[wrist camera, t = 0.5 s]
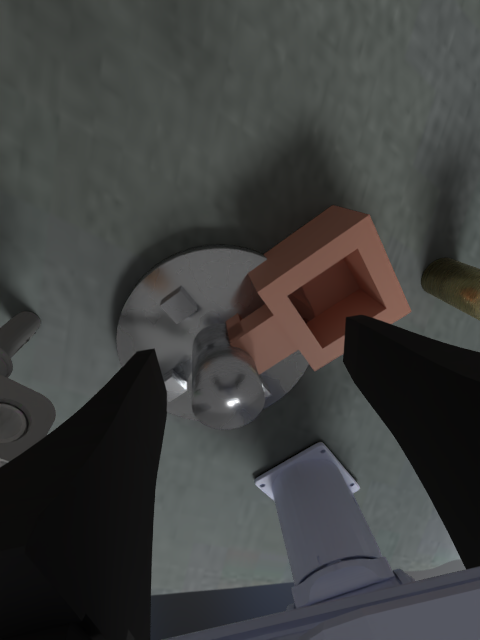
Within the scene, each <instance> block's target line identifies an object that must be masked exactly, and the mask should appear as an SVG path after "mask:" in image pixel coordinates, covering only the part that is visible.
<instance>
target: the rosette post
mask: <svg viewBox="0 0 480 640" xmlns="http://www.w3.org/2000/svg"><path fill="white" fill-rule="evenodd" d="M266 260H267V258H266V257H265V256H264V254H262V253H259V252H257V251H254V250H251V249H248V248H243V247H239V246H232V245H206V246H200V247H195V248H191V249H188V250H185V251H182V252H179V253H177V254H175V255H172V256H170V257H168V258H166V259H165V260H163V261H162V262H160V263H159V264H157V265H156V266H154V267H153V268H152V269H151V270H150V271H148V272H147V273H146V274H145V275H144V276H143V277H142V279H141V280H140V281H139V282H138V283H137V284H136V286H135V287H134V289H133V291H132V292H131V294H130V295H129V297H128V299H127V301H126V303H125V305H124V308H123V310H122V312H121V315H120V319H119V323H118V327H117V337H116V341H117V352H118V356H119V360H120V364H121V366H122V367H123V366H124V365H125V364H126V363H127V361H128V360H129V359H130V358H131V357H132V356H133V355H134V354H135V353H136V352H137V351H141V350H147V349H154V348H155V352H156V355H157V359H158V362H159V366H160V369H161V373H162V376H163V380H164V383H165V387H166V390H167V412H168V413H170V414H173V415H176V416H179V417H182V418H186V419H191V420H197V421H200V422H201V423H203V424H204V425H206V426H208V427H211V428H214V429H221V430H228V429H235V428H239V427H242V426H244V425H246V424H248V423H250V422H251V421H253V420H254V419H255V418H256V417H257V416H258V415H259V414H260V412H261V411H262V410H263V409H265V408H267V407H268V406H270V405H272V404H273V403H275V402H276V401H278V400H279V399H281V398H282V397H283V396H284V395H285V394H287V393H288V392H289V391H290V390H291V389H292V388H293V387H294V386H295V385H296V383H297V382H298V381H299V379H300V378H301V377H302V375H303V374H304V372H305V370H306V369H307V367H308V365H309V363H308V362H307V360H306V359H305V357H304V356H303V355H302V353H301V352H300V351H299V350H297V351H296V352H294V353H292V354H291V355H289V356H288V357H286V358H285V359H283V360H281V361H280V362H278V363H277V364H275V365H274V366H272V367H271V368H269V369H267V370H266V371H264V372H263V373H261V374H260V375H259V374H258V371H257V368H256V364H255V362H254V360H253V358H252V357H251V356H250V355H249V354H248V353H247V352H246V351H244V350H242V349H240V348H237V347H233V346H231V345H230V341H229V336H228V331H227V326H226V321H227V320H228V319H230V318H231V317H233V316H234V315H236V314H237V313H238V314H239V315H240V317H241V318H242V319H244V318H245V317H247V316H248V315H250V314H251V313H253V312H254V311H256V310H257V309H259V308H260V307H261V306H263V305H264V304H265V302H264V301H263V300H262V298H261V297H260V295H259V294H258V293H257V291H256V289H255V287H254V285H253V283H252V281H251V279H250V277H249V275H248V273H249V272H250V271H252V270H253V269H254V268H256V267H257V266H259V265H260V264H261V263H263V262H264V261H266ZM302 289H303V288H302ZM298 290H301V287H300V288H299V289H298ZM298 290H297V291H298ZM295 291H296V290H295ZM303 292H305V291H303ZM292 293H294V292H292ZM301 293H302V291H301ZM301 293H299V292H298V294H301ZM295 294H296V293H295ZM293 295H294V294H293ZM293 295H292V296H293ZM304 295H305V294H304ZM304 295H303V298H302V299H304V298H305V297H304ZM290 296H291V295H289V296H287V297H288V298H291V297H290ZM294 296H295V295H294ZM296 296H297V294H296ZM299 296H300V295H299ZM301 296H302V295H301ZM297 297H298V296H297ZM294 298H295V297H293V298H292V299H290V301H292V300H293V301H295V300H294ZM296 299H297V298H296ZM300 299H301V297H300ZM302 299H301V300H302ZM305 299H306V298H305ZM297 300H298V299H297ZM297 300H296V301H295V302H291V303H296V302H297ZM298 301H299V300H298ZM299 302H300V303H299ZM299 302H297V303H299V307H300V306H302V305H300V304H303V301H299ZM307 302H308V301H307ZM308 303H309V302H308ZM294 305H295V306H296V307H298V306H297V305H296V304H294ZM308 305H309V304H308ZM310 305H311V303H310ZM295 306H294V307H295ZM304 306H306V305H305V304H304V305H303V306H302V307H304ZM296 307H295V309H296ZM299 307H298V308H297V309H299ZM310 307H311V306H310ZM307 308H308V307H307ZM307 308H306V309H307ZM297 309H296V310H297ZM301 309H302V310H306V309H304V308H301ZM301 309H300V310H301ZM311 309H312V310H313V308H312V307H311ZM300 310H297V311H298V312H299V311H300ZM302 310H301V311H302ZM308 310H309V309H308ZM308 310H307V311H306V312H307V313H308ZM312 310H310V311H312ZM301 311H300V313H299V314H300V315H302V313H303V312H304V311H302V313H301ZM310 311H309V312H310ZM306 312H304V313H306ZM313 314H314V312H313ZM310 315H311V316H312V313H311V314H310V313H309V315H308V316H309V317H310V318H311V319H312V317H311V316H310ZM303 316H305V317H306V318H307V317H308V316H307V314H306V315H305V314H303ZM303 316H301V317H303ZM313 317H314V318H315V316H313ZM306 318H304V317H303V318H302V319H303V320H304V321H305V323H307V322H306V321H307V320H309V319H310V318H308V319H307V320H306ZM311 319H310V320H311ZM310 320H309V321H310Z"/></svg>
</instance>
